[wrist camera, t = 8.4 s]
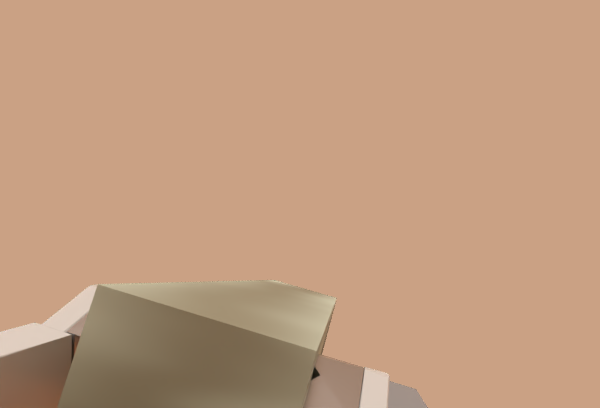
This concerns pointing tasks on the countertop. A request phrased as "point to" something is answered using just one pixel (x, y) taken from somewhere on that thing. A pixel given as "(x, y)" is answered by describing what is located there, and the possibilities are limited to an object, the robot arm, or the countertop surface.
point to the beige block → (198, 346)
